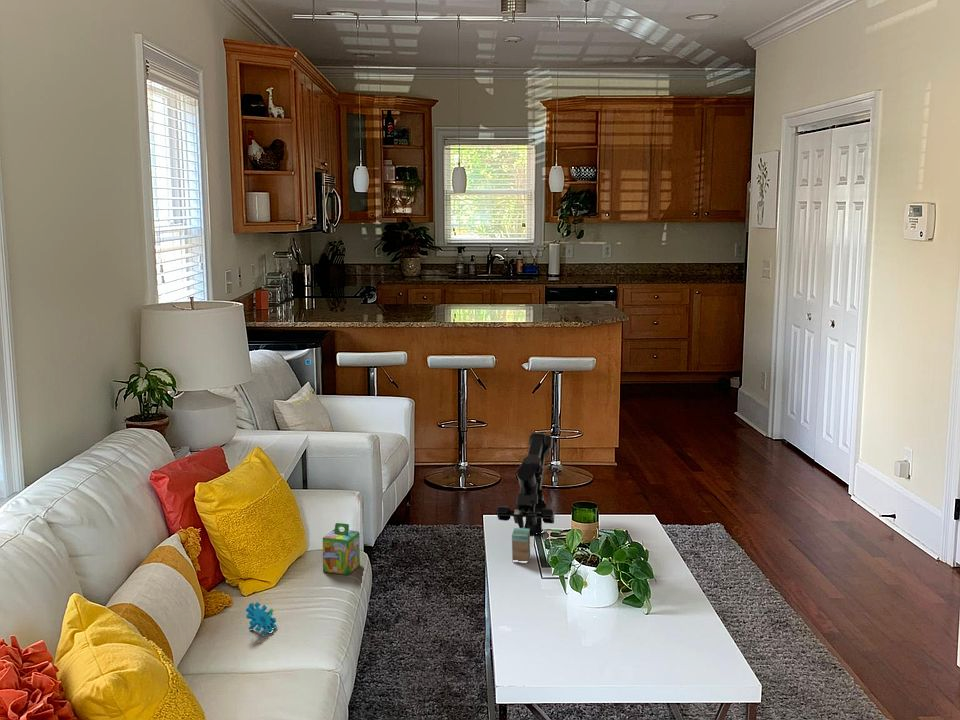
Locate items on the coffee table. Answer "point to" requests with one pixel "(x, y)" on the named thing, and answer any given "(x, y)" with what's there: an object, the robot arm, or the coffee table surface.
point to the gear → (260, 618)
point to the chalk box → (341, 550)
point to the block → (521, 544)
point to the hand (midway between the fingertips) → (522, 538)
